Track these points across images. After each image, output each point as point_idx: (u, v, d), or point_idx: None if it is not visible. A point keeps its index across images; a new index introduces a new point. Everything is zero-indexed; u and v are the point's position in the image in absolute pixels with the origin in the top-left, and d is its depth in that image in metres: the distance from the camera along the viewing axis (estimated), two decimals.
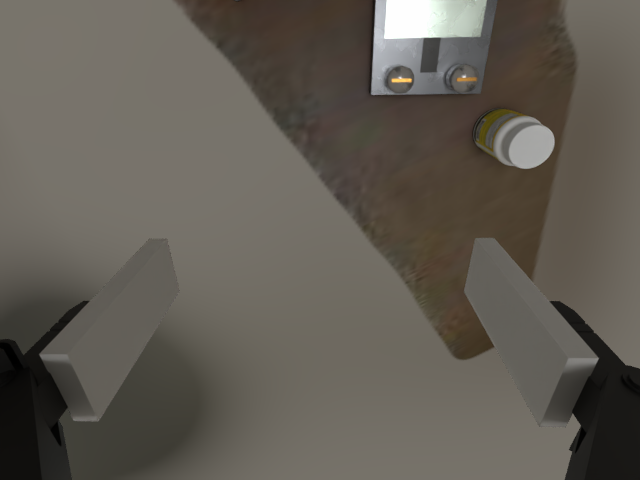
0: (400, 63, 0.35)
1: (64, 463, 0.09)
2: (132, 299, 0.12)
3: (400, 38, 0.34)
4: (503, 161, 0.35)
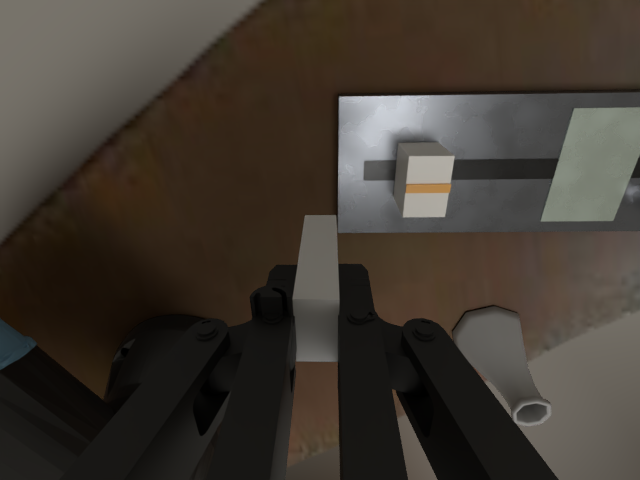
0: None
1: (290, 409, 0.10)
2: None
3: (619, 203, 0.29)
4: None
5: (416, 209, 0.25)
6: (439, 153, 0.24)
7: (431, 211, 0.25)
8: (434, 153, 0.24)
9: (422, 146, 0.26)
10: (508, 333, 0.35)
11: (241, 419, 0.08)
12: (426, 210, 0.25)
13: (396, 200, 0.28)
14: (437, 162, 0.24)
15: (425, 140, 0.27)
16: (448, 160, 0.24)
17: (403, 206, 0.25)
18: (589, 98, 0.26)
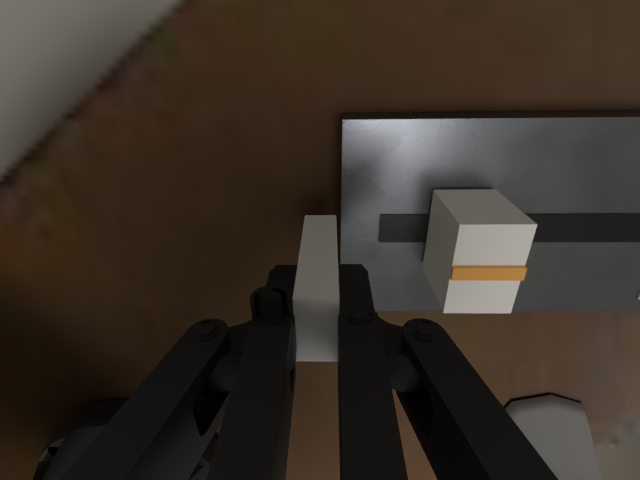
0: None
1: (290, 409, 0.10)
2: None
3: None
4: None
5: (466, 302, 0.16)
6: (508, 217, 0.15)
7: (489, 305, 0.16)
8: (500, 217, 0.15)
9: (474, 199, 0.16)
10: (574, 438, 0.25)
11: (241, 419, 0.08)
12: (482, 303, 0.16)
13: (429, 275, 0.18)
14: (507, 234, 0.14)
15: (475, 186, 0.18)
16: (525, 231, 0.14)
17: (444, 296, 0.16)
18: None
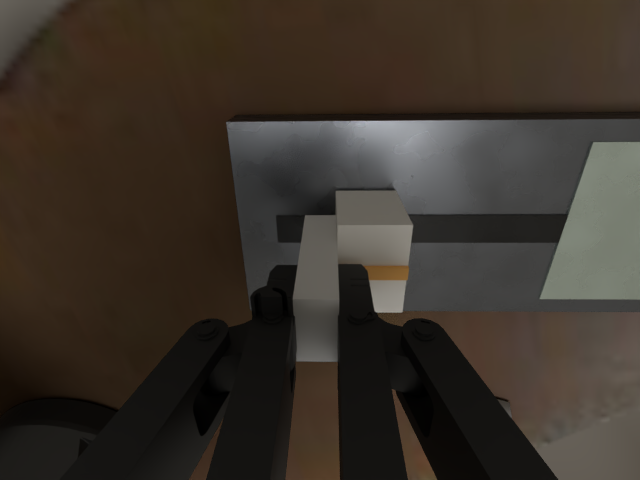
0: None
1: (290, 409, 0.10)
2: None
3: None
4: None
5: None
6: (390, 218, 0.15)
7: (380, 304, 0.16)
8: (382, 218, 0.15)
9: (368, 200, 0.17)
10: None
11: (241, 419, 0.08)
12: None
13: None
14: (385, 234, 0.14)
15: (365, 187, 0.18)
16: (403, 231, 0.14)
17: None
18: (617, 127, 0.16)
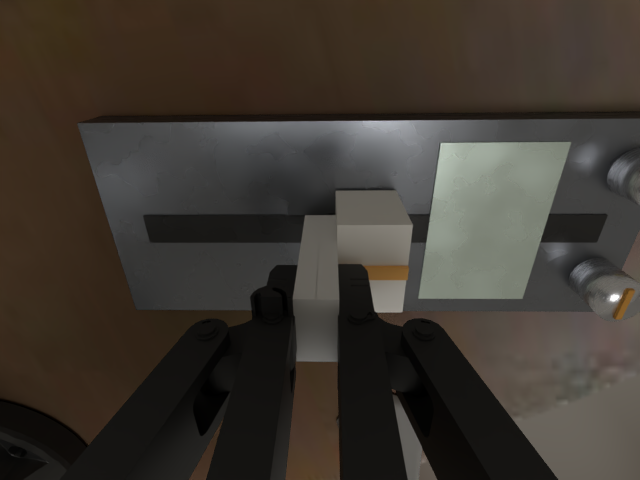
0: (568, 273, 0.20)
1: (290, 409, 0.10)
2: None
3: (528, 276, 0.20)
4: None
5: None
6: (389, 218, 0.15)
7: (380, 304, 0.16)
8: (381, 218, 0.15)
9: (368, 200, 0.17)
10: None
11: (241, 419, 0.08)
12: None
13: None
14: (385, 234, 0.14)
15: (226, 187, 0.18)
16: (403, 231, 0.14)
17: None
18: (463, 128, 0.17)
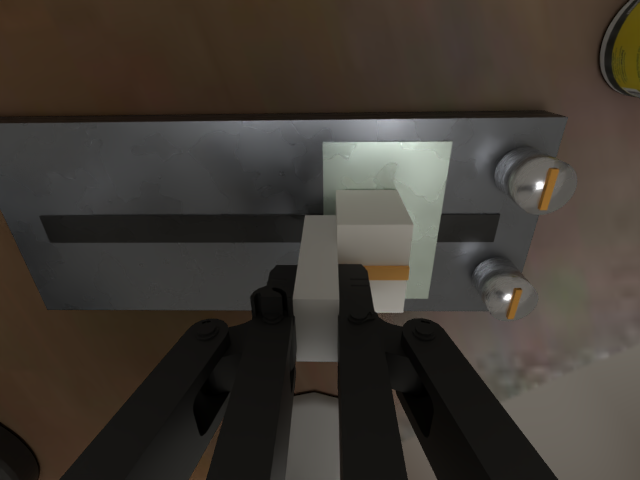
0: (470, 272, 0.20)
1: (290, 409, 0.10)
2: None
3: (430, 276, 0.20)
4: None
5: None
6: (390, 217, 0.15)
7: (381, 304, 0.16)
8: (382, 217, 0.15)
9: (369, 199, 0.16)
10: (320, 435, 0.26)
11: (241, 419, 0.08)
12: (373, 303, 0.16)
13: None
14: (385, 234, 0.14)
15: (117, 187, 0.18)
16: (403, 231, 0.14)
17: None
18: (343, 127, 0.17)
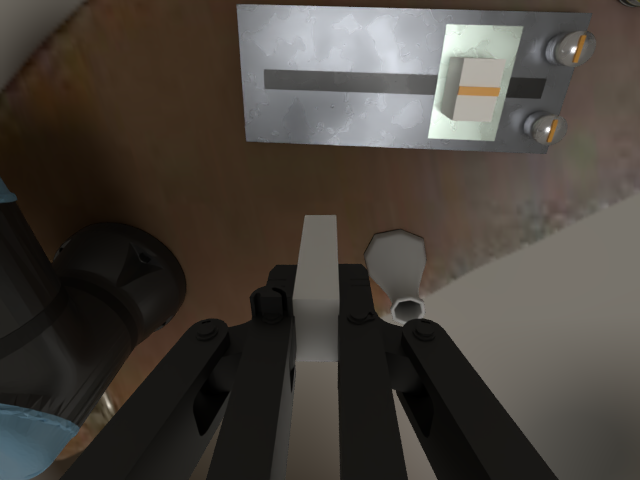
0: (523, 122, 0.32)
1: (290, 409, 0.10)
2: None
3: (498, 123, 0.32)
4: None
5: (465, 112, 0.28)
6: None
7: (479, 115, 0.28)
8: (487, 58, 0.27)
9: None
10: (407, 250, 0.38)
11: (241, 419, 0.08)
12: (474, 114, 0.28)
13: (444, 112, 0.30)
14: (489, 65, 0.26)
15: (316, 51, 0.30)
16: (500, 63, 0.26)
17: (453, 110, 0.28)
18: (460, 15, 0.28)
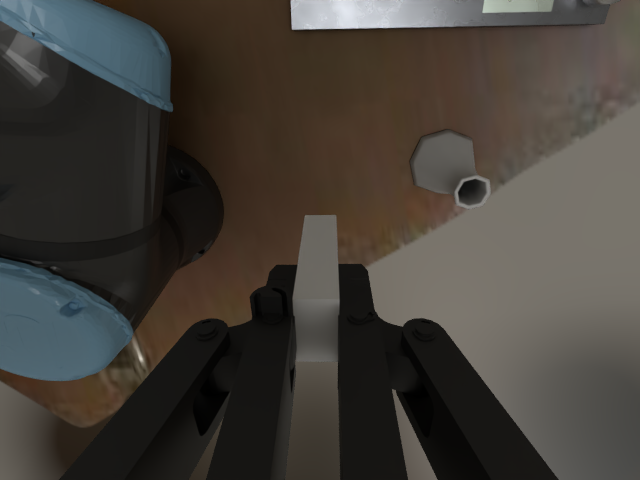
0: None
1: (290, 409, 0.10)
2: None
3: None
4: None
5: None
6: None
7: None
8: None
9: None
10: (458, 146, 0.37)
11: (241, 419, 0.08)
12: None
13: None
14: None
15: None
16: None
17: None
18: None
